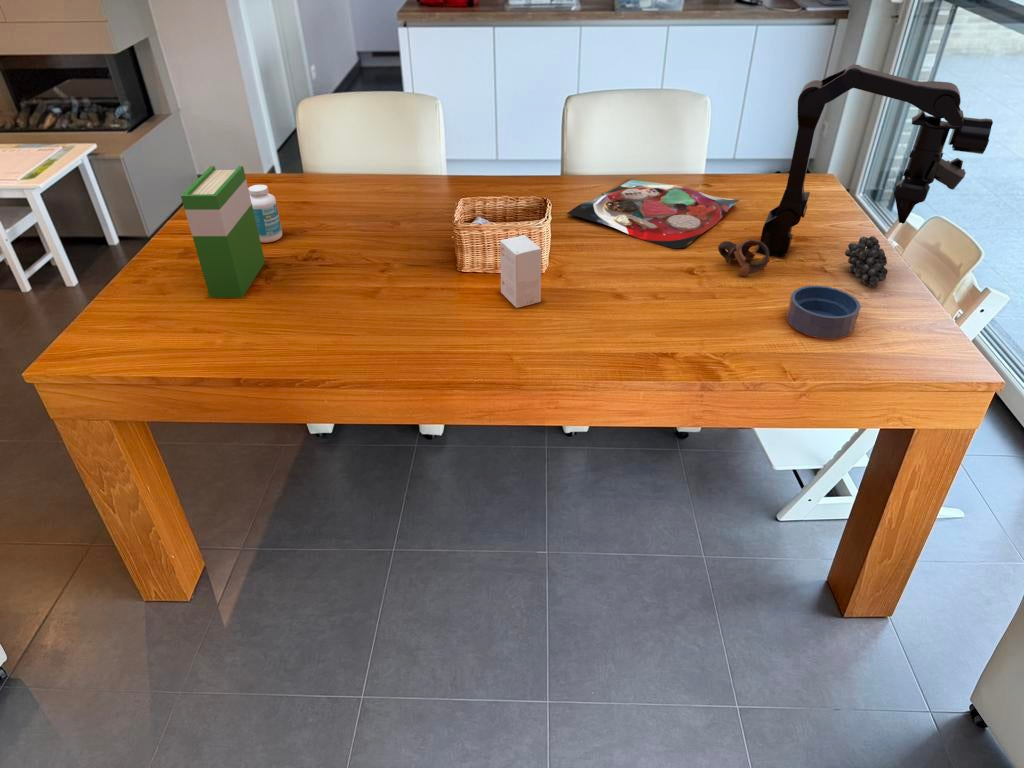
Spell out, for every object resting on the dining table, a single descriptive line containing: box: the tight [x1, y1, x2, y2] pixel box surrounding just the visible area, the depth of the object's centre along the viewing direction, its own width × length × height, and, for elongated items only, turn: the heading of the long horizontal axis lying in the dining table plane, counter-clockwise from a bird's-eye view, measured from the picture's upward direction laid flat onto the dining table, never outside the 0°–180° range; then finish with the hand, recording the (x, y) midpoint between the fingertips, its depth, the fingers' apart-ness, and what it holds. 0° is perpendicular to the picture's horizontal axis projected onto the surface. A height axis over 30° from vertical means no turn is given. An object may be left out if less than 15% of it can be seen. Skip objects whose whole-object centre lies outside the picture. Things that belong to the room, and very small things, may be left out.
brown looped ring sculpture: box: [717, 238, 770, 277], centre depth 174 cm, size 12×10×8 cm
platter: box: [565, 179, 741, 250], centre depth 202 cm, size 35×35×2 cm
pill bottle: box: [248, 184, 283, 244], centre depth 188 cm, size 8×7×14 cm
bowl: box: [786, 285, 862, 340], centre depth 153 cm, size 13×13×6 cm
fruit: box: [844, 235, 889, 288], centre depth 169 cm, size 9×8×15 cm
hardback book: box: [180, 165, 266, 299], centre depth 166 cm, size 18×7×24 cm, turn 179°
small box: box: [499, 234, 543, 309], centre depth 161 cm, size 8×6×13 cm
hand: (905, 215), depth 166 cm, fingers open, 9 cm apart
